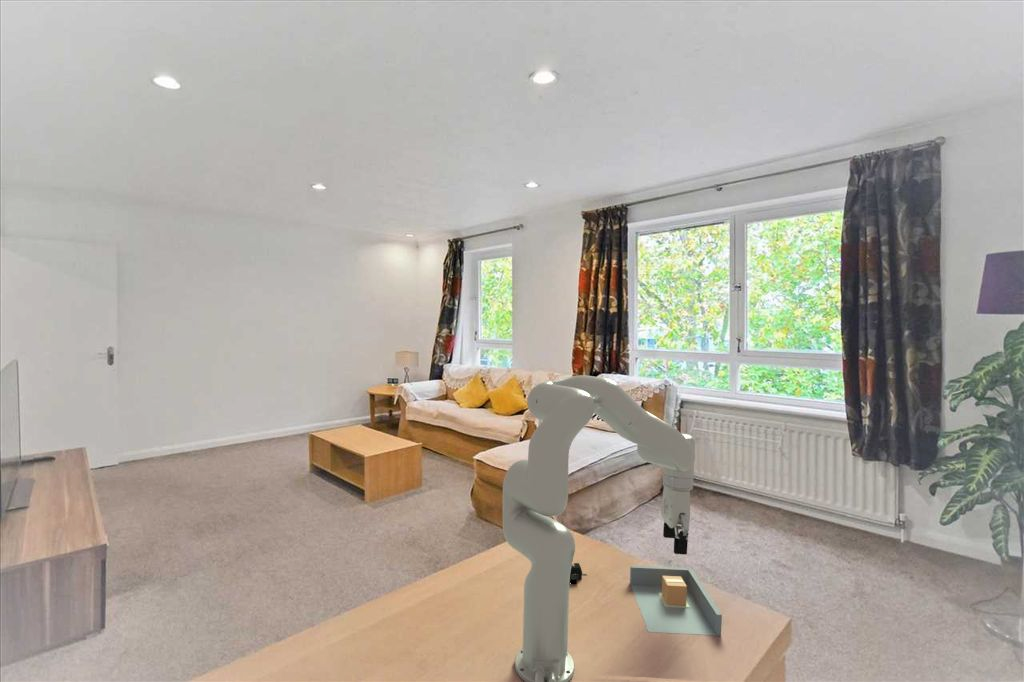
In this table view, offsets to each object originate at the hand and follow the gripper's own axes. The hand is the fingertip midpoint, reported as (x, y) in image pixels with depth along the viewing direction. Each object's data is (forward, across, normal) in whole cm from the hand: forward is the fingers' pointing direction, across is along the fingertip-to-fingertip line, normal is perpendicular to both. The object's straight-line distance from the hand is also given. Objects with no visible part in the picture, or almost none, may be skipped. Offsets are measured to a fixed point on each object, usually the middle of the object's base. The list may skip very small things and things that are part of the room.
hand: (674, 545), depth 128 cm
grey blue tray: (+16, +2, -1) cm, 16 cm away
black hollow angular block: (+17, -10, -25) cm, 32 cm away
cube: (+15, 0, +1) cm, 15 cm away
